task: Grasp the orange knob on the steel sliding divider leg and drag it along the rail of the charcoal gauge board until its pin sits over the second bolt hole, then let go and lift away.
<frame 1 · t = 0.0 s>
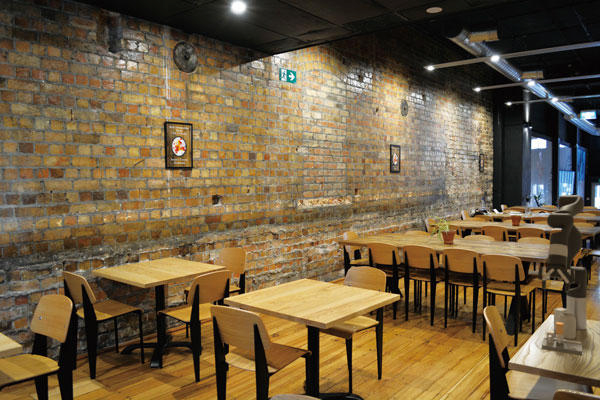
hand: (555, 290, 197), 31 cm above the table, tool tilted 20°, fingers open, 8 cm apart
divider leg: (559, 333, 214), point 6 cm above the table, slide at 0.0 cm
skincare box: (560, 331, 236), on the table
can: (567, 337, 227), on the table
gauge board: (562, 347, 213), on the table
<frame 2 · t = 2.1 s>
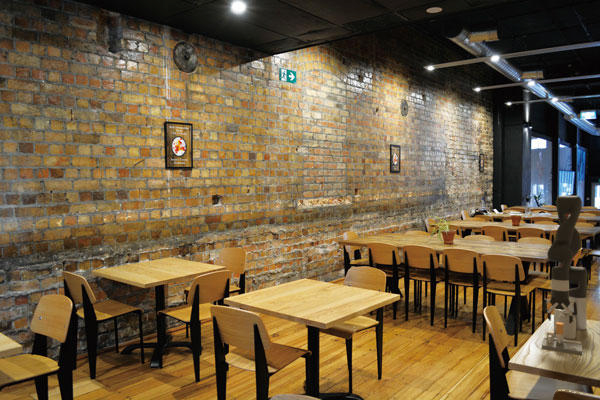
hand: (559, 321, 215), 12 cm above the table, tool pointing down, fingers open, 8 cm apart
nothing on the table moved.
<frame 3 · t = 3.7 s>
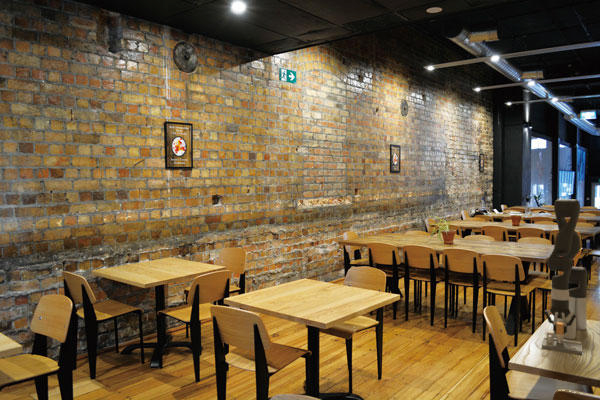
hand: (559, 332, 215), 7 cm above the table, tool pointing down, fingers closed on divider leg, 3 cm apart
divider leg: (559, 333, 214), point 6 cm above the table, slide at 0.1 cm, touching gripper
everything else where it was.
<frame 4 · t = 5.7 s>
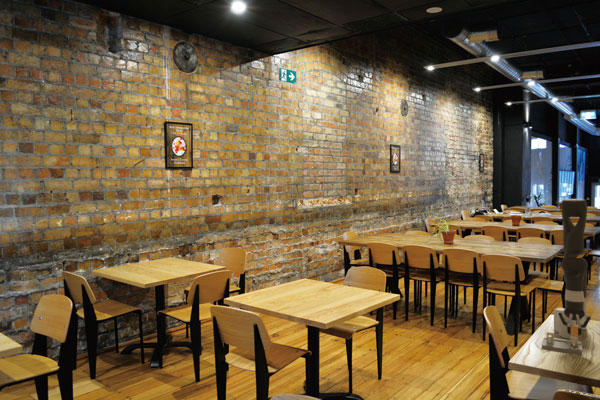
hand: (574, 334, 212), 7 cm above the table, tool pointing down, fingers closed on divider leg, 3 cm apart
divider leg: (574, 336, 210), point 6 cm above the table, slide at 6.0 cm, touching gripper
everything else where it was.
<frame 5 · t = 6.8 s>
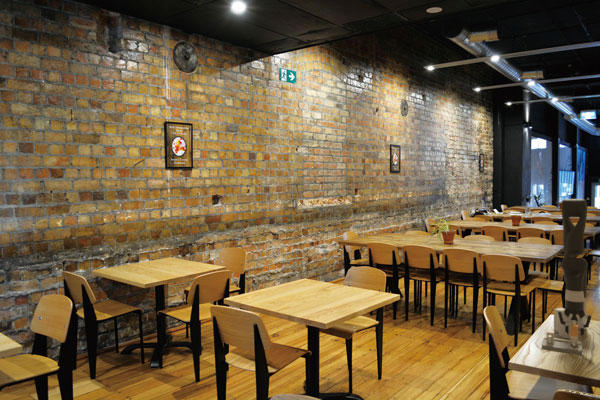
hand: (574, 334, 212), 7 cm above the table, tool pointing down, fingers open, 5 cm apart
divider leg: (574, 336, 210), point 6 cm above the table, slide at 6.0 cm
everything else where it was.
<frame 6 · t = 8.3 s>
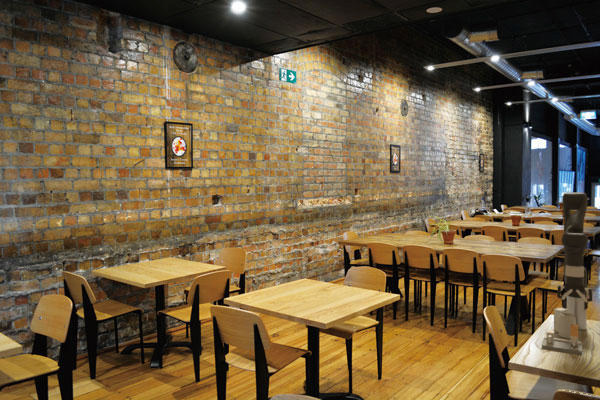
hand: (574, 308, 211), 19 cm above the table, tool pointing down, fingers open, 8 cm apart
nothing on the table moved.
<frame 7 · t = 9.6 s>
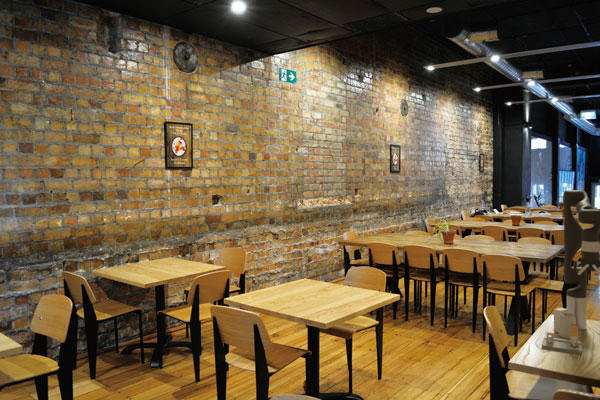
hand: (590, 282, 217), 30 cm above the table, tool pointing down, fingers open, 8 cm apart
nothing on the table moved.
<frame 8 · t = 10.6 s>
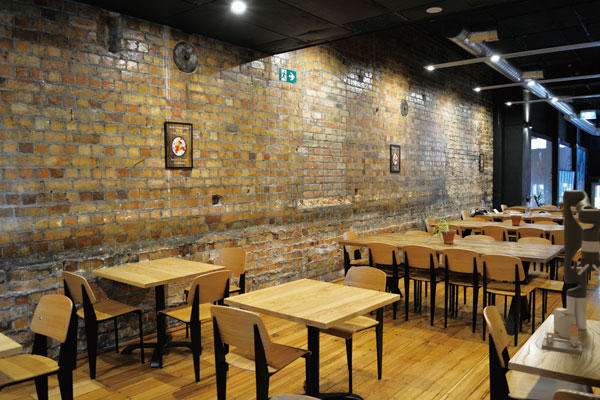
hand: (590, 282, 217), 30 cm above the table, tool pointing down, fingers open, 8 cm apart
nothing on the table moved.
at the end: divider leg slide at 6.0 cm; the gripper is holding nothing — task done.
